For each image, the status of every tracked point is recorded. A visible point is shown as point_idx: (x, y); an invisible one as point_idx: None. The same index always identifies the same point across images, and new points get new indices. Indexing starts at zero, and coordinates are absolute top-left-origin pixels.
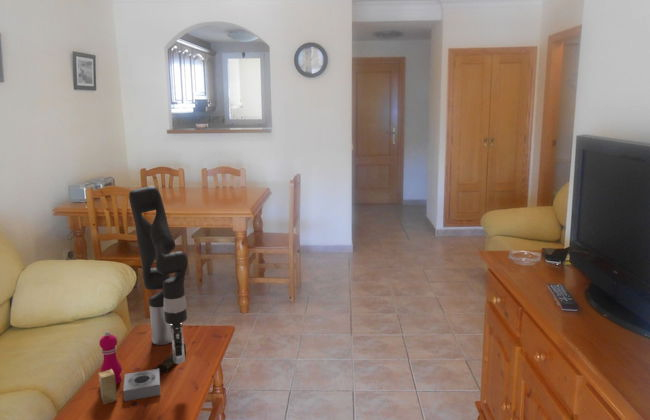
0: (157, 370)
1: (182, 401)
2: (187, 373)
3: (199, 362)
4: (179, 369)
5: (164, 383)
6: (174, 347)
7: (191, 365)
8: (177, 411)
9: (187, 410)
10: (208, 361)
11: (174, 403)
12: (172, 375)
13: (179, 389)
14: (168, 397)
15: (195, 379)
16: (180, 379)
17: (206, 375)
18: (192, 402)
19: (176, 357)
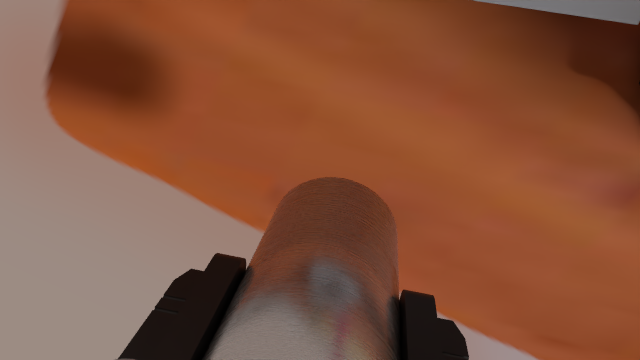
0: (607, 2)
1: (186, 100)
2: (522, 209)
3: (619, 307)
4: (622, 177)
5: (484, 35)
6: (221, 334)
7: (617, 257)
8: (85, 48)
9: (81, 105)
10: (588, 349)
11: (180, 49)
12: (567, 114)
13: (339, 116)
14: (270, 26)
15: (410, 230)
16: (469, 151)
17: (420, 292)
18: (155, 150)
19: (260, 241)
